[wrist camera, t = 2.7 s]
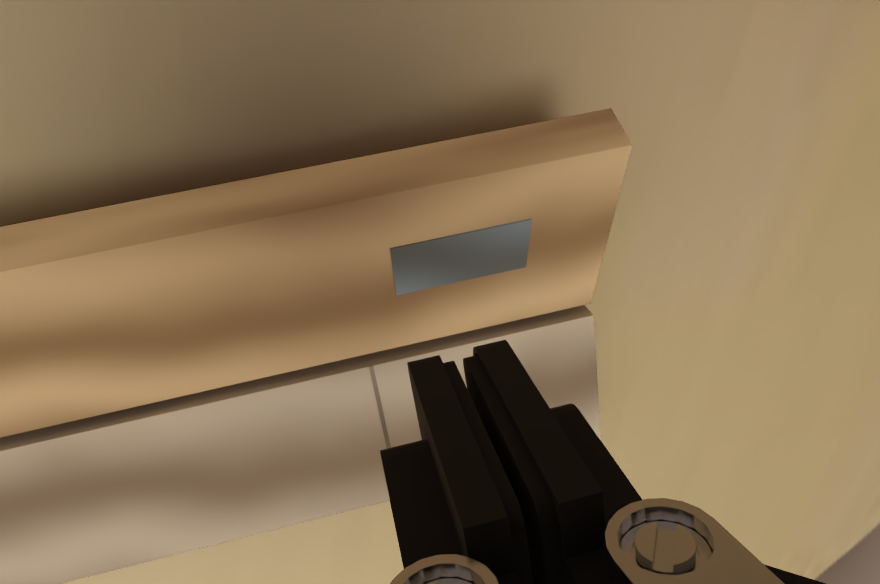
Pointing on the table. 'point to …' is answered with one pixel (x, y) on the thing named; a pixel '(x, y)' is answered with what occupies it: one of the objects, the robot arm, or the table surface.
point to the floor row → (244, 453)
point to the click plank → (301, 267)
